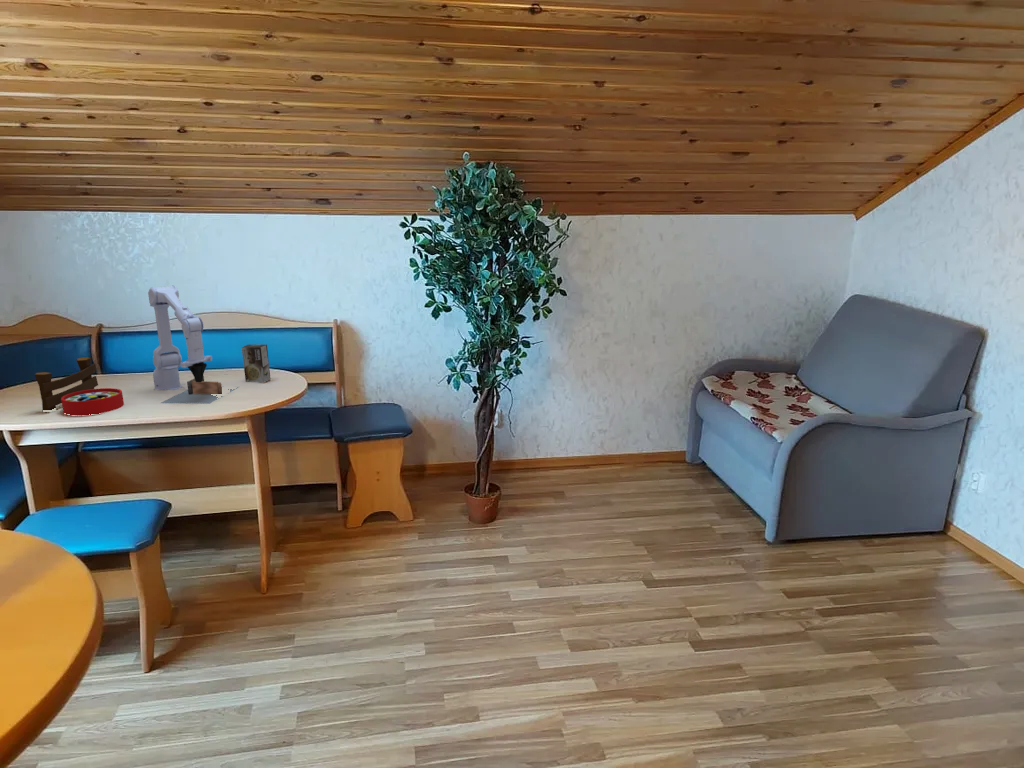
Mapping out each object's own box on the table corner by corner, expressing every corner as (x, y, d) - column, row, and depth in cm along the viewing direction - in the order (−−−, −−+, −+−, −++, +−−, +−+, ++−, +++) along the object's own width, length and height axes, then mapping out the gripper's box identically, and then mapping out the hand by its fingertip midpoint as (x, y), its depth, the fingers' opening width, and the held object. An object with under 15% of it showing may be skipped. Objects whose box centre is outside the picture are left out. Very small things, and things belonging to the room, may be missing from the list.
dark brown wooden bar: (187, 394, 280) (186, 382, 278) (201, 387, 291) (200, 375, 290) (191, 394, 280) (190, 382, 278) (205, 387, 291) (204, 375, 289)
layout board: (160, 403, 267) (160, 402, 267) (194, 387, 292) (194, 386, 292) (209, 404, 266) (209, 403, 266) (239, 387, 291) (239, 386, 291)
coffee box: (271, 379, 305) (267, 344, 301) (264, 383, 299) (261, 347, 295) (251, 379, 306) (248, 344, 302) (244, 382, 300) (241, 346, 296)
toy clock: (132, 388, 269) (101, 401, 250) (134, 402, 271) (103, 417, 251) (83, 388, 270) (48, 401, 251) (85, 402, 272) (51, 416, 252)
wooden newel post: (192, 393, 280) (191, 382, 278) (194, 392, 281) (193, 381, 280) (221, 394, 278) (219, 382, 277) (223, 393, 280) (221, 381, 279)
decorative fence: (51, 413, 256) (44, 374, 252) (35, 413, 255) (28, 375, 252) (101, 390, 288) (95, 356, 285) (87, 391, 288) (81, 356, 284)
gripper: (189, 352, 260) (193, 386, 264) (216, 345, 274) (220, 378, 277) (174, 351, 263) (178, 385, 266) (202, 344, 276) (206, 377, 279)
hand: (199, 381), depth 272 cm, fingers closed
